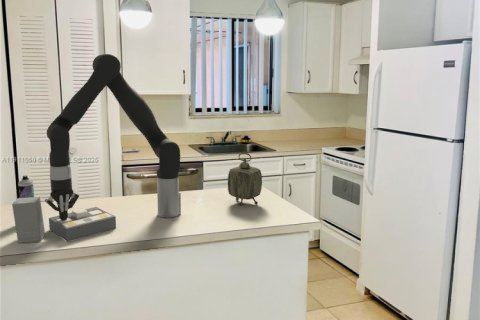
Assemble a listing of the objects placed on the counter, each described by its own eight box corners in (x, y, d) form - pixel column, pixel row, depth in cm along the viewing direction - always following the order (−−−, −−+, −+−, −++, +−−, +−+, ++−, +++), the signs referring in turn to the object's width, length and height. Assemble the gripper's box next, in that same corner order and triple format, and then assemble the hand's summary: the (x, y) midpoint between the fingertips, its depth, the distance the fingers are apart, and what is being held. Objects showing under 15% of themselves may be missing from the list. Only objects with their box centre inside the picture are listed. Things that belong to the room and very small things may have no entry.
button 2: (98, 216, 183) (97, 209, 183) (103, 219, 180) (102, 212, 180) (88, 219, 180) (87, 212, 180) (93, 221, 177) (92, 214, 176)
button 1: (67, 224, 174) (67, 217, 174) (72, 227, 171) (72, 219, 171) (56, 226, 171) (56, 219, 170) (61, 230, 168) (60, 222, 167)
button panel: (96, 217, 187) (96, 206, 186) (116, 228, 176) (115, 215, 175) (49, 229, 173) (48, 217, 172) (67, 241, 162) (66, 228, 161)
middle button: (82, 215, 178) (82, 208, 178) (88, 218, 175) (87, 211, 175) (72, 217, 175) (71, 210, 175) (77, 220, 172) (76, 213, 172)
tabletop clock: (261, 204, 209) (262, 153, 203) (251, 209, 201) (252, 156, 196) (235, 199, 216) (236, 149, 211) (225, 203, 209) (226, 152, 204)
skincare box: (45, 235, 168) (42, 195, 164) (40, 243, 161) (36, 201, 157) (21, 236, 166) (18, 196, 163) (15, 244, 160) (11, 202, 156)
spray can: (25, 220, 183) (20, 174, 178) (38, 220, 183) (34, 174, 179) (19, 225, 177) (15, 177, 173) (33, 225, 178) (29, 177, 173)
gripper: (47, 181, 160) (50, 226, 163) (82, 175, 169) (84, 218, 173) (39, 177, 165) (42, 221, 168) (73, 172, 174) (75, 213, 178)
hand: (63, 219), depth 170 cm, fingers closed
